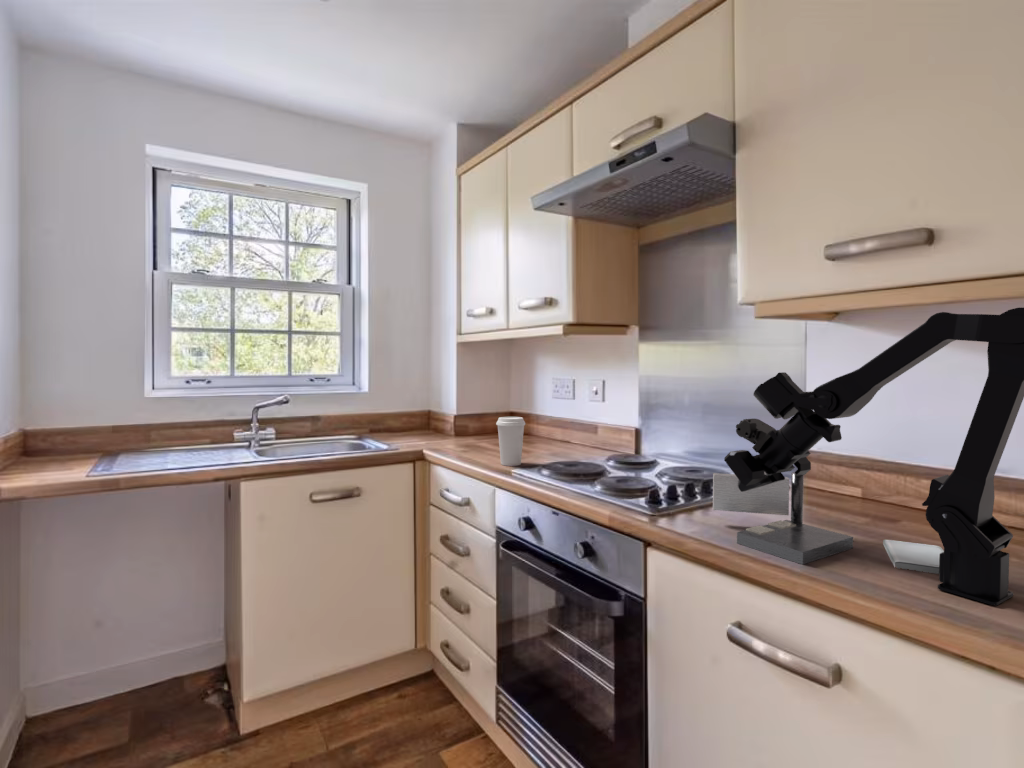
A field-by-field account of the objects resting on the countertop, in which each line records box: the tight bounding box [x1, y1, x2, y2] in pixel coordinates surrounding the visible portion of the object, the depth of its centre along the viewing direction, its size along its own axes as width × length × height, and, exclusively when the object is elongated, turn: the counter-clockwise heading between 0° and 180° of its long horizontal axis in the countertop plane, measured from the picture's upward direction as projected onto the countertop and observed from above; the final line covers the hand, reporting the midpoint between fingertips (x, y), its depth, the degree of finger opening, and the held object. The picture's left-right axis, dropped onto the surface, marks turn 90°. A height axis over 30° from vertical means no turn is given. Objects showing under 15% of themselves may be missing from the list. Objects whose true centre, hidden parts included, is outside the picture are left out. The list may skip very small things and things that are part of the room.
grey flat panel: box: [712, 472, 790, 516], centre depth 105 cm, size 14×2×7 cm, turn 73°
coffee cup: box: [495, 416, 527, 467], centre depth 173 cm, size 10×10×15 cm
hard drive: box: [882, 539, 944, 575], centre depth 87 cm, size 2×8×12 cm
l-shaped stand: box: [736, 471, 854, 566], centre depth 94 cm, size 12×18×11 cm
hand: (741, 489), depth 104 cm, fingers closed
